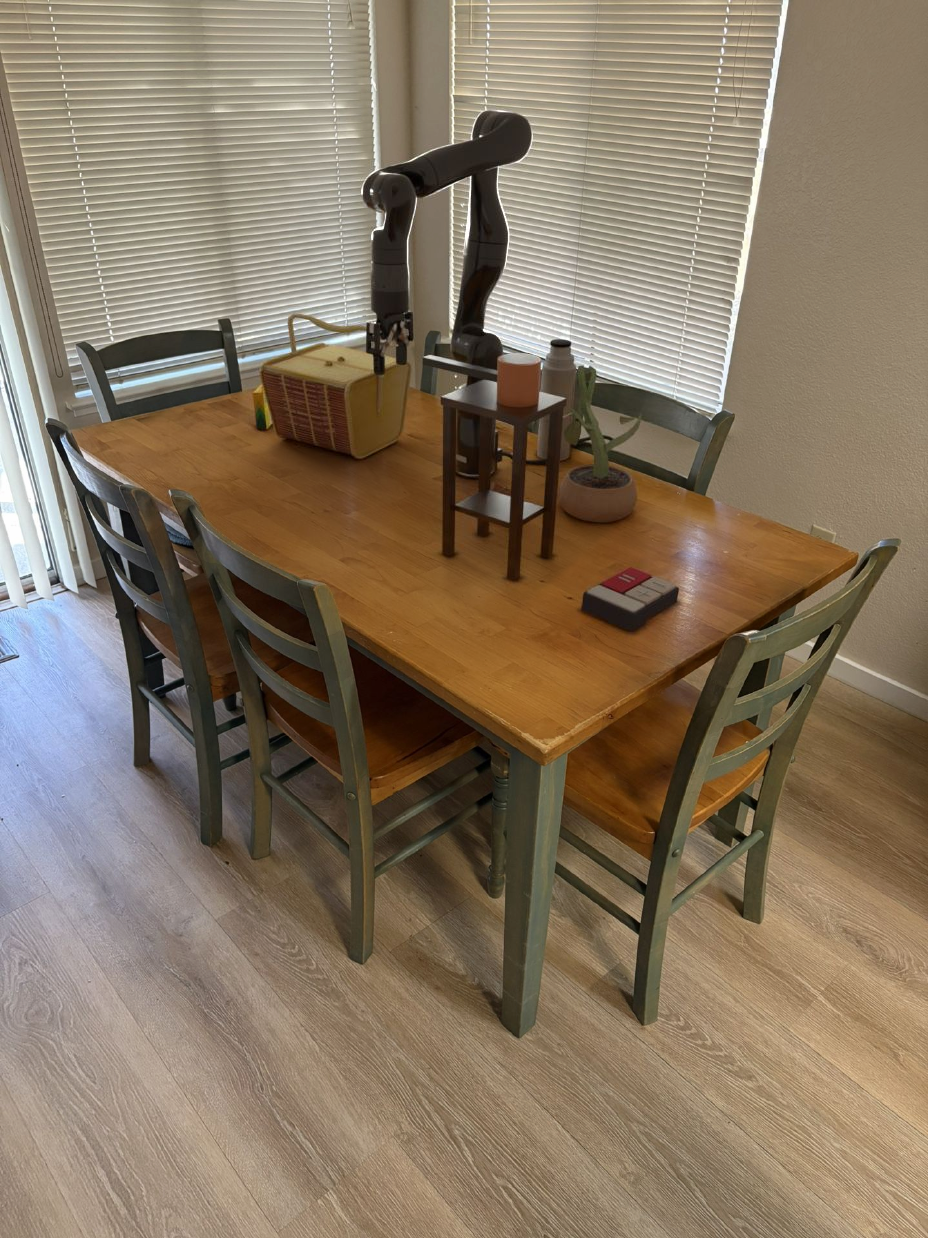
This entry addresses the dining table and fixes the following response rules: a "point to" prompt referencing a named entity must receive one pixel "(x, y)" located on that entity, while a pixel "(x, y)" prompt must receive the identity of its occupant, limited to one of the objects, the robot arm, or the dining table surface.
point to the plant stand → (488, 502)
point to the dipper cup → (502, 376)
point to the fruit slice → (500, 489)
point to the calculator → (629, 598)
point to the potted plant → (596, 467)
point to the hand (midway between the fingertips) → (390, 369)
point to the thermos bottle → (557, 391)
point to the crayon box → (261, 409)
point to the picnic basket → (335, 395)
